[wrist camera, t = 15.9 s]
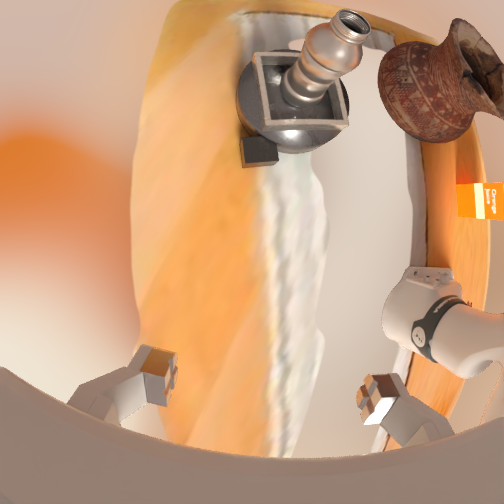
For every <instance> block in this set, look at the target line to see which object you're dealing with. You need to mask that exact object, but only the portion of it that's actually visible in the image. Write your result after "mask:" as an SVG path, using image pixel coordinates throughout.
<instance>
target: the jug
mask: <svg viewBox="0 0 504 504" xmlns="http://www.w3.org/2000/svg"><path fill="white" fill-rule="evenodd" d="M378 88H379V92H380V97H381V99H382V102H383V104H384V106H385V108H386V110H387V112H388V113H389V115H390V116H391V118H392V119H393V120H394V121H395V122H396V124H397V125H398V126H399V127H400V128H402V129H403V130H404V131H405V132H406V133H408V134H409V135H411V136H413V137H414V138H416V139H419V140H421V141H425V142H431V143H446V142H449V141H452V140H455V139H457V138H458V137H460V136H461V135H462V134H463V133H464V132H465V131H466V130H467V129H468V128H469V127H470V125H471V122H472V119H473V117H474V114H475V112H478V111H483V112H487V113H490V114H492V115H495V116H497V117H499V118H501V119H503V120H504V64H503V63H502V62H501V60H500V59H499V57H498V56H497V54H496V53H495V51H494V50H493V48H492V47H491V45H490V44H489V43H488V42H487V41H486V40H484V39H483V37H481V35H480V33H479V32H478V31H477V30H476V29H475V27H473V26H472V25H471V24H470V23H468V22H467V21H465V20H462V19H459V18H456V19H454V20H452V23H451V26H450V30H449V34H448V36H447V37H446V39H445V40H444V42H443V43H441V44H440V45H439V46H434V45H431V44H428V43H424V42H418V41H414V42H406V43H403V44H400V45H398V46H396V47H394V48H392V49H391V50H390V51H389V52H387V53H386V54H385V55H384V57H383V59H382V60H381V63H380V67H379V72H378Z"/></svg>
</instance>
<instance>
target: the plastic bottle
mask: <svg viewBox="0 0 504 504" xmlns="http://www.w3.org/2000/svg"><path fill="white" fill-rule="evenodd" d="M370 33H371V26H370V24H369V22H368V21H367V20H366V19H365V18H364V17H363V16H362V15H360V14H359V13H357V12H355V11H353V10H350V9H341V10H339V11H338V12H337V13H336V15H335V16H334V17H333V18H332V19H331V21H330V22H328V23H322V24H319V25H317V26H315V27H313V28H312V29H311V30H310V31H309V32H308V34H307V36H306V38H305V41H304V45H303V48H302V51H301V53H300V55H299V57H298V59H297V61H296V62H295V63H294V65H293V66H292V67H291V68H289V69H288V70H287V71H286V72H285V73H284V74H283V75H282V77H281V80H280V92H281V95H282V96H283V98H284V99H285V100H286V101H287V102H288V103H289V104H291V105H293V106H295V107H298V108H309V107H312V106H314V105H316V104H318V103H319V102H320V101H321V99H322V97H323V96H324V94H325V91H326V90H327V89H328V87H329V86H330V85H331V84H332V83H333V82H334V81H335V80H337V79H338V78H339V77H341V76H343V75H344V74H346V73H348V72H350V71H352V70H353V69H354V68H356V67H357V66H358V65H359V64H360V61H361V59H362V55H363V53H362V45H361V44H362V43H364V41H365V40H366V38H367V37H368V36H369V35H370Z"/></svg>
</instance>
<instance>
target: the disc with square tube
mask: <svg viewBox="0 0 504 504" xmlns="http://www.w3.org/2000/svg"><path fill="white" fill-rule="evenodd" d="M300 53H301V51H296V50H289V49H281V50H274V51H270V52H254V55H253V59H252V61H251V62H250V63H249V64H248V65H247V66H246V68H245V69H244V71H243V73H242V75H241V78H240V81H239V85H238V90H237V96H236V109H237V113H238V116H239V119H240V121H241V123H242V125H243V127H244V128H245V129H246V131H247V132H248V133H249V134H250V135H251V136H252V137H245V138H242V139H241V142H240V152H241V160H242V168H249V167H260V166H271V165H274V164H276V163H277V162H278V161H279V158H278V152H282V153H289V154H299V153H305V152H309V151H312V150H315V149H317V148H318V147H320V146H322V145H323V144H325V143H327V142H328V141H330V140H331V139H333V138H334V137H336V136H337V135H338V134H339V133H340V132H341V130H342V129H344V128H346V127H347V126H349V121H348V115H349V99H348V94H347V91H346V89H345V86H344V84H343V83H342V81H341V79H340V78H338V79H337V80H335V81H334V82H333V83H332V84H331V85H330V86H329V87H328V89H327V90H326V91H325V94H324V96H323V97H322V99H321V101H320V102H319V103H318V104H316V105H314V106H312V107H309V108H298V107H295V106H293V105H291V104H289V103H288V102H287V101H286V100H285V99H284V98H283V96H282V95H281V92H280V80H281V77H282V75H283V74H284V73H285V72H286V71H287V70H288V69H289V68H291V67H292V66H293V65H294V63H295V62H296V61H297V59H298V57H299V55H300Z"/></svg>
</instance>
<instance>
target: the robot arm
mask: <svg viewBox="0 0 504 504" xmlns="http://www.w3.org/2000/svg"><path fill="white" fill-rule="evenodd" d="M414 272H415V273H414ZM462 298H463V296H462V288H461V285H460V283H458V282H456V281H454V276H453V272H452V270H451V269H450V268H441V267H413V266H410V267H408V268H407V269H406V270H405V272H404V274H403V277H402V279H401V281H400V282H399V283H398V284H397V285H396V286H395V288H394V289H393V290H392V291H391V293H390V295H389V296H388V298H387V300H386V302H385V305H384V308H383V312H382V327H383V331H384V333H385V334H386V336H387V337H388V338H390V339H391V340H394V341H396V342H397V343H398V345H399V346H400V347H401V348H402V349H407V348H408V349H410V350H412V351H414V352H416V353H417V354H419V355H421V356H425V357H426V358H427V359H428V360H430V361H433V362H435V363H439V364H441V365H442V366H444V367H445V368H447V369H448V370H449V371H451V372H452V373H454V374H455V375H457V376H458V377H460V378H472V377H475V376H477V375H478V374H480V373H481V372H483V371H484V370H485V369H486V368H487V367H488V366H489V365H490V364H491V363H492V362H493V361H496V362H498V363H499V364H500V365H501V366H502V370H501V374H500V376H499V378H498V381H497V383H496V386H495V388H494V390H493V392H492V394H491V396H490V399H489V401H488V403H487V405H486V407H485V410H484V413H483V416H482V419H481V422H480V425H479V426H477V427H474V428H472V429H469V430H466V431H463V432H460V433H458V434H455V433H454V432H453V430H452V428H451V426H450V424H449V422H448V420H447V419H446V418H445V417H444V416H442V415H441V414H439V413H438V412H436V411H435V410H433V409H432V408H430V407H429V406H427V405H426V404H424V403H423V402H421V401H420V400H418V399H417V398H415V397H414V396H410V395H409V393H408V391H407V389H406V387H405V386H404V384H403V382H402V380H401V378H400V376H399V375H398V374H397V373H388V374H368V375H367V376H366V377H365V379H364V383H365V384H364V385H363V386H361V387H360V388H359V390H358V392H357V397H356V401H357V405H358V407H359V408H360V409H361V410H362V411H361V413H360V415H361V418H362V420H363V424H380V425H381V426H382V427H383V428H384V429H385V430H386V431H387V432H388V433H389V434H390V435H391V436H392V437H393V438H394V439H395V440H396V441H397V442H398V443H399V444H400V445H401V446H402V447H403V448H401V449H396V450H390V451H384V452H378V453H371V454H363V455H354V456H344V457H328V458H276V457H260V456H249V455H239V454H231V453H224V452H217V451H211V450H206V449H200V448H195V447H190V446H186V445H181V444H177V443H173V442H169V441H164V440H161V439H157V438H154V437H150V436H147V435H144V434H140V433H137V432H134V431H131V430H128V429H125V428H122V427H121V424H120V422H121V421H122V420H124V419H125V418H127V417H128V416H130V415H131V414H133V413H134V412H136V411H137V410H139V409H140V408H141V407H143V406H144V405H145V404H147V402H148V403H152V404H156V405H160V406H164V407H167V406H168V403H169V401H170V398H171V390H172V389H174V387H175V384H176V380H177V373H178V368H177V366H176V363H177V360H178V358H177V353H175V352H171V351H168V350H164V349H160V348H156V347H152V346H148V345H145V344H142V345H141V346H140V347H139V349H138V350H137V352H136V354H135V355H134V357H133V359H132V360H131V362H130V363H129V365H128V367H122V368H120V369H117V370H115V371H113V372H111V373H108V374H106V375H103V376H101V377H98V378H96V379H94V380H91V381H89V382H86V383H84V384H81V385H79V387H78V388H77V390H76V391H75V392H74V394H73V396H72V397H71V398H70V400H69V401H68V403H67V404H65V403H63V402H61V401H60V400H58V399H56V398H54V397H52V396H50V395H48V394H46V393H45V392H43V391H41V390H39V389H37V388H36V387H34V386H32V385H30V384H29V383H28V382H26V381H24V380H23V379H21V378H19V377H18V376H17V375H15V374H14V373H12V372H11V371H9V370H8V369H6V368H4V367H0V504H504V313H501V314H492V313H487V312H484V311H480V310H477V309H475V308H472V302H471V305H469V301H468V304H466V303H465V302H464V301H463V300H462Z"/></svg>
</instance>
